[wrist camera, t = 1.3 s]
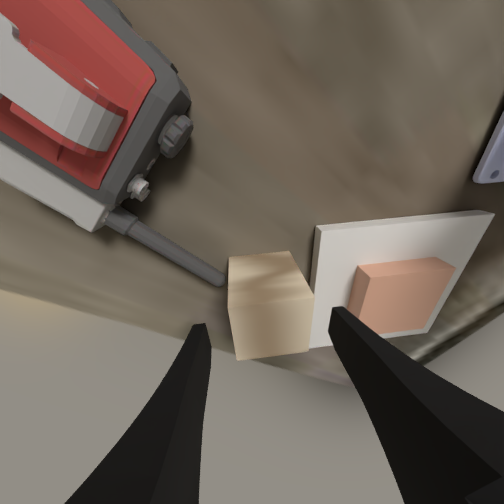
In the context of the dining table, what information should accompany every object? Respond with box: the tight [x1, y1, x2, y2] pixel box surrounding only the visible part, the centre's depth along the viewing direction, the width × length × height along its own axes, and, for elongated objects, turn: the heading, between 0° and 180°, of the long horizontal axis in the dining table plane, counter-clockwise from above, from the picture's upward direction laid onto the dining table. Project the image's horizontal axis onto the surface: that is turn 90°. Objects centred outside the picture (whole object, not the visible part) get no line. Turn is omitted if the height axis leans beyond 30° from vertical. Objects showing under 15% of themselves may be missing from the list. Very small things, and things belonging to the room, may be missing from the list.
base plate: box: [309, 210, 495, 348], centre depth 15 cm, size 12×12×2 cm
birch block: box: [228, 251, 315, 361], centre depth 13 cm, size 4×4×5 cm
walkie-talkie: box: [0, 0, 226, 287], centre depth 8 cm, size 9×4×20 cm
